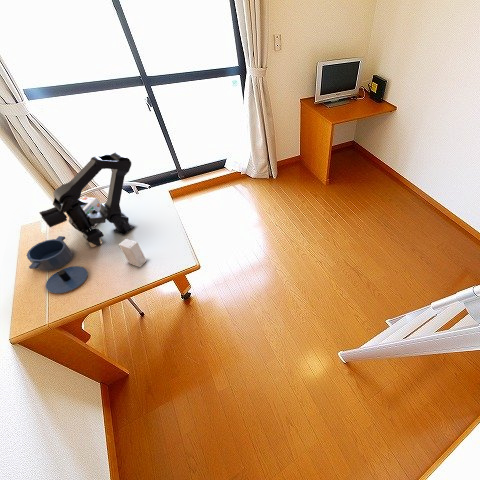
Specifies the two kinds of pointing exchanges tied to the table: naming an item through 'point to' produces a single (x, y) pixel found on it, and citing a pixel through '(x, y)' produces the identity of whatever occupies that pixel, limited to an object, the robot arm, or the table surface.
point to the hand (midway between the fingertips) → (94, 241)
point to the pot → (49, 254)
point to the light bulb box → (91, 205)
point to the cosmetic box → (132, 252)
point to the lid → (66, 279)
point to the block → (93, 244)
